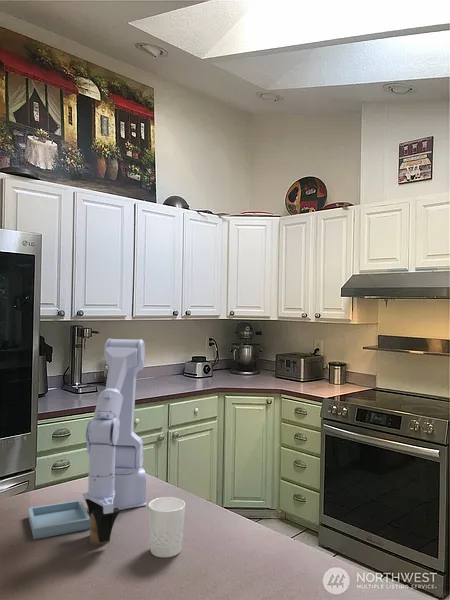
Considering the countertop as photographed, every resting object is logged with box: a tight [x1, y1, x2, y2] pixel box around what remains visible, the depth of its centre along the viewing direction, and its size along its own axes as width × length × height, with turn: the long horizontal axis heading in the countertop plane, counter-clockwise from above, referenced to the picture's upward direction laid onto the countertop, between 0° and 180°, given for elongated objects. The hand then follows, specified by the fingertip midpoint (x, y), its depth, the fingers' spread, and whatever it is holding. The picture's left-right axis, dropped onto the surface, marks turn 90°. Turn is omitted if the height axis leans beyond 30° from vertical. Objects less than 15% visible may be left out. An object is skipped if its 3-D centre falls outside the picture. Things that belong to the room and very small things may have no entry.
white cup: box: [148, 496, 186, 559], centre depth 106 cm, size 8×8×10 cm
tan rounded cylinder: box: [89, 513, 111, 547], centre depth 109 cm, size 4×4×6 cm
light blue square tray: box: [27, 499, 90, 540], centre depth 118 cm, size 13×13×2 cm
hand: (100, 533), depth 109 cm, fingers open, 7 cm apart
